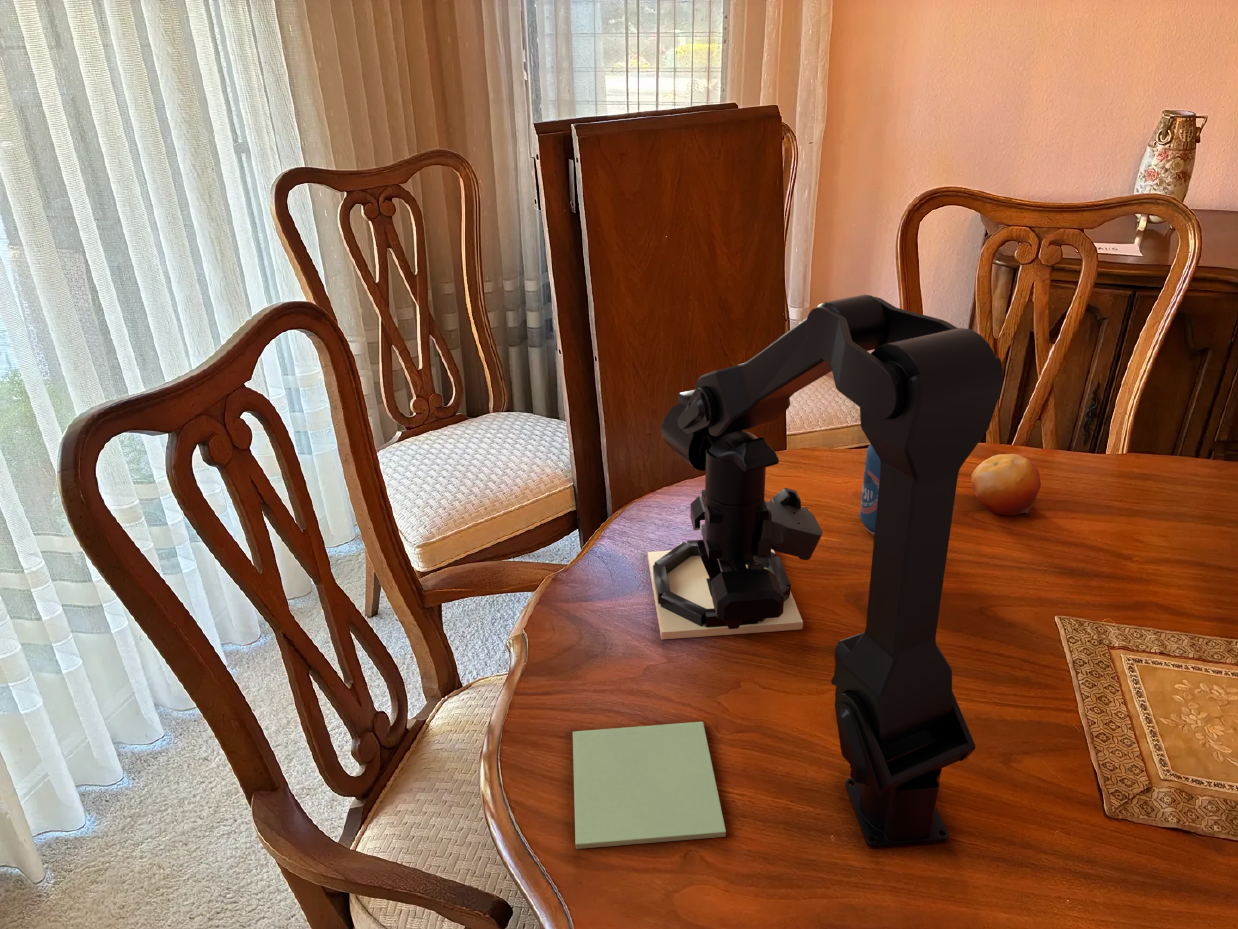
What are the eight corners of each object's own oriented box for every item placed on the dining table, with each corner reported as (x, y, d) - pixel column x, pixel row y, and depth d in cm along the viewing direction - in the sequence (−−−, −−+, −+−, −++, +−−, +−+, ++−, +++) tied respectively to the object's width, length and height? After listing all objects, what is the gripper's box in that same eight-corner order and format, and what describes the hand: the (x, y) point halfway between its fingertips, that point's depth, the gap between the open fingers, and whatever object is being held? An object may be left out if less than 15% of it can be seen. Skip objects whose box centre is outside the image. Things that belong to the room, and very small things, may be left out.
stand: (802, 629, 90) (807, 572, 87) (661, 639, 90) (660, 583, 86) (770, 550, 104) (773, 498, 100) (647, 558, 103) (646, 506, 100)
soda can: (849, 515, 110) (858, 431, 104) (900, 508, 111) (912, 425, 105) (872, 544, 104) (883, 457, 98) (926, 537, 105) (940, 450, 99)
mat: (726, 837, 68) (726, 832, 68) (575, 849, 68) (575, 844, 68) (703, 726, 79) (703, 721, 79) (573, 736, 78) (572, 731, 78)
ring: (800, 620, 90) (801, 610, 89) (662, 630, 90) (662, 620, 89) (770, 544, 103) (770, 534, 102) (649, 552, 102) (648, 542, 102)
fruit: (1060, 515, 105) (1034, 464, 103) (995, 538, 109) (969, 489, 106) (1045, 483, 112) (1020, 434, 110) (985, 506, 116) (960, 459, 113)
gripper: (845, 537, 75) (831, 674, 82) (793, 442, 91) (785, 563, 99) (719, 546, 75) (716, 682, 82) (689, 449, 91) (689, 569, 98)
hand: (731, 619), depth 90 cm, fingers open, 3 cm apart
